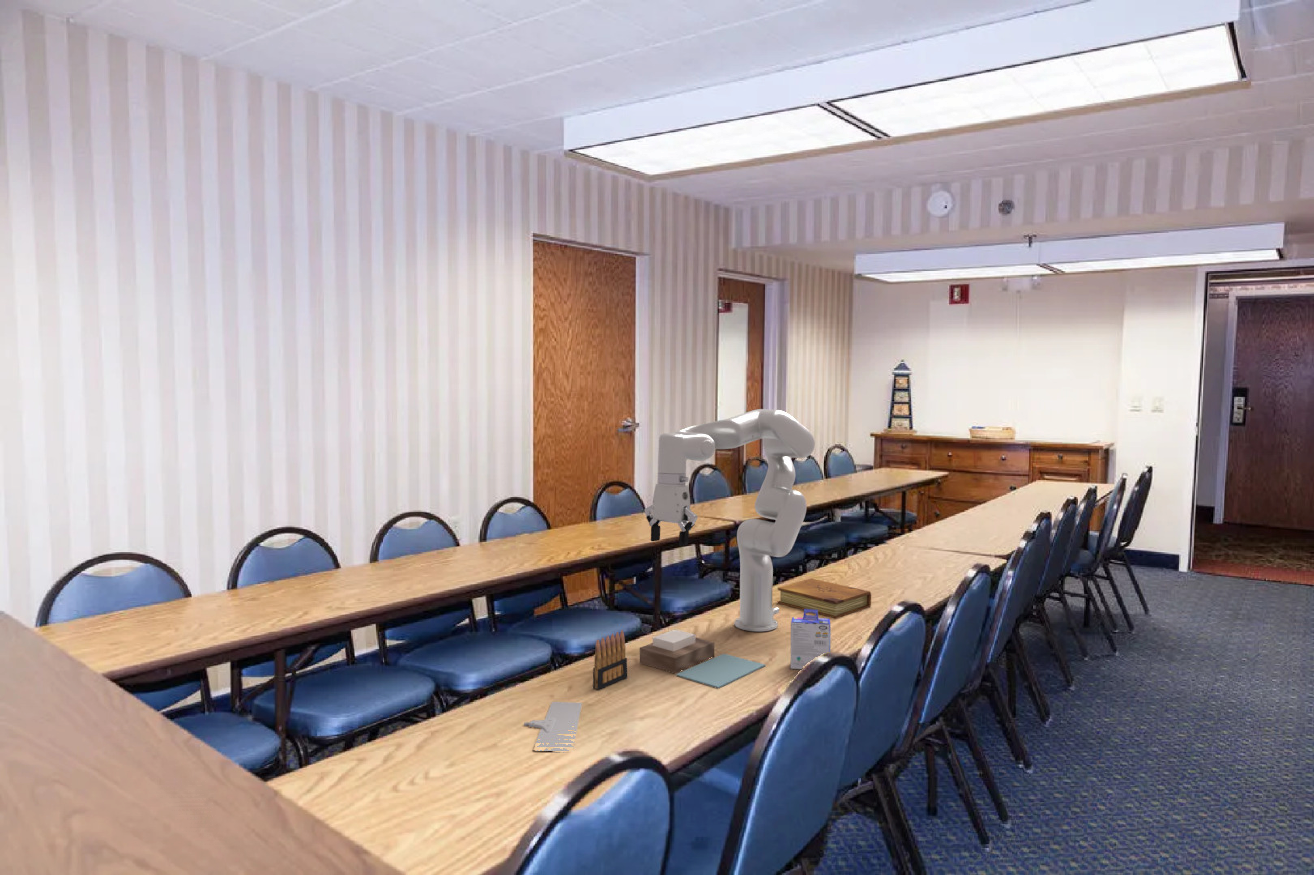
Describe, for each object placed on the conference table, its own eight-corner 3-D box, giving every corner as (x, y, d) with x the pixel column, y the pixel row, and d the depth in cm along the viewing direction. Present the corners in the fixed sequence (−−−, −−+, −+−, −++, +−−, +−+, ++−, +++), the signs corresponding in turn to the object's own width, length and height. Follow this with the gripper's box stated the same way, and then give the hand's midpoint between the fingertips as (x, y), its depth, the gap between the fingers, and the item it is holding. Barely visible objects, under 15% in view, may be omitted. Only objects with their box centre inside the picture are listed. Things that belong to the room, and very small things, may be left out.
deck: (678, 647, 228) (678, 633, 228) (714, 657, 220) (714, 642, 220) (639, 662, 216) (639, 647, 216) (675, 673, 208) (675, 658, 208)
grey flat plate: (534, 703, 190) (534, 698, 190) (637, 707, 190) (637, 702, 190) (512, 753, 165) (512, 747, 165) (630, 758, 165) (630, 752, 165)
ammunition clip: (621, 676, 207) (621, 628, 206) (627, 677, 206) (627, 630, 205) (592, 689, 198) (592, 639, 197) (598, 690, 197) (598, 641, 196)
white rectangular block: (674, 637, 224) (674, 629, 224) (695, 642, 219) (695, 634, 219) (652, 645, 217) (652, 637, 217) (673, 651, 213) (673, 642, 213)
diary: (870, 608, 268) (871, 591, 267) (836, 620, 255) (836, 601, 255) (812, 594, 285) (813, 577, 284) (777, 604, 272) (777, 586, 272)
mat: (723, 655, 222) (723, 653, 222) (765, 666, 213) (765, 664, 213) (676, 675, 207) (676, 674, 207) (718, 688, 198) (718, 687, 198)
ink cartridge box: (830, 664, 215) (830, 609, 213) (830, 672, 209) (831, 615, 208) (791, 662, 216) (791, 607, 215) (790, 669, 211) (790, 613, 210)
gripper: (706, 481, 221) (703, 546, 221) (655, 476, 232) (653, 537, 232) (688, 483, 215) (686, 549, 216) (637, 477, 226) (635, 540, 227)
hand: (669, 543), depth 224 cm, fingers open, 9 cm apart
